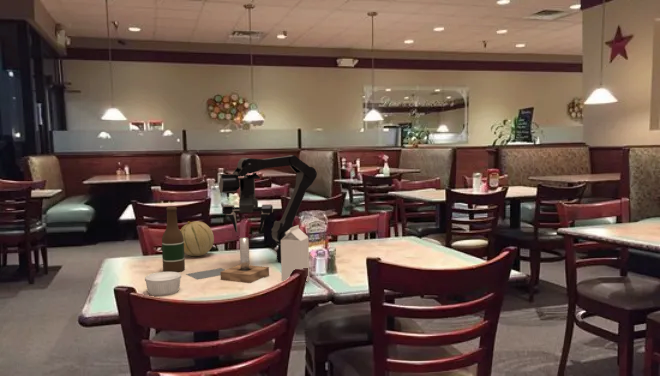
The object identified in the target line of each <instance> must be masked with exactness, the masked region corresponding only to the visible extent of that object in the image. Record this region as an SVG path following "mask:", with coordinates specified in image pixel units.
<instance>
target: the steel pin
mask: <svg viewBox="0 0 660 376" xmlns="http://www.w3.org/2000/svg"><path fill="white" fill-rule="evenodd" d="M249 240H250V239H249V237H240V238H239V254H240V255H239V256H240V257H239V259H240V263H239V265H240V264H241V271H249V265H250V252H249V251H250V248H249V247H250V244H249V242H250V241H249Z"/></svg>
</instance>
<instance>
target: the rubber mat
mask: <svg viewBox="0 0 660 376" xmlns="http://www.w3.org/2000/svg"><path fill="white" fill-rule="evenodd" d="M224 270H226V269H225V268H222V267H219V268H213V269H207V270H202V271H201V270H200V271H196V272H190V273H185V275H186V276H188V277H191V278H193V279H195V280H202V279H203V280H204V279H208V278H213V277H218V276H220V277H221V273H220V272H221V271H224Z"/></svg>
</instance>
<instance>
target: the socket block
mask: <svg viewBox="0 0 660 376" xmlns="http://www.w3.org/2000/svg"><path fill="white" fill-rule="evenodd" d="M220 273H221V275H220V280H221V281H228V282H237V283H247V284H251V283H254V282H256V281H259V280H261V279H263V278H266V277H269V276H270V267H269V266H259V265H250V264H249V271H241V264H240V263H239V264H238V265H236V266H235V265H234V266H233V267H230V268H227V269H225V270H224V271H221V272H220Z"/></svg>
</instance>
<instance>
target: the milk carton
mask: <svg viewBox="0 0 660 376" xmlns="http://www.w3.org/2000/svg"><path fill="white" fill-rule="evenodd" d="M299 226H300V225H299V224H297V225H295V226H293V227H292V228H290V230H288V231H287V232H286V233H285V234H286V236H285V237H283V238H282V239H281V262H280V264H281V265H280V266H281V268H280V269H281V271H280V272H281V282H282V281H284V280H286V279H287V278H288V277H289V276H290V274H291V273H292V271H293V270H295V269H303V268H308V278H307V282H306V283H308V282H309V281H310V257H309V256H310V255H309V250H310V249H309V248H310V247H309V245H310V244H309V236H308V235H307V234H306V233H305V232H303V230H302V229H300V227H299Z"/></svg>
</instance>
